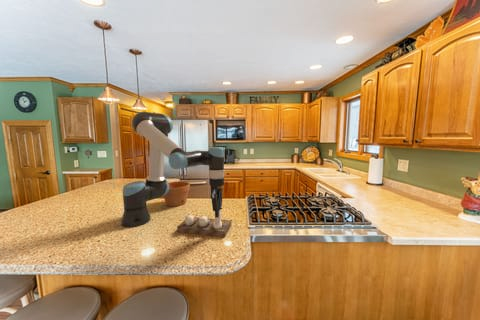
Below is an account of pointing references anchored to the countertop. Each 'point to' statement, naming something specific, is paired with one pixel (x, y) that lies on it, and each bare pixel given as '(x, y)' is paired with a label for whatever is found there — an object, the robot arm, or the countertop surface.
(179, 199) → the flower pot
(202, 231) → the board
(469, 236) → the countertop surface
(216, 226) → the button
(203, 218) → the button
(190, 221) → the button
